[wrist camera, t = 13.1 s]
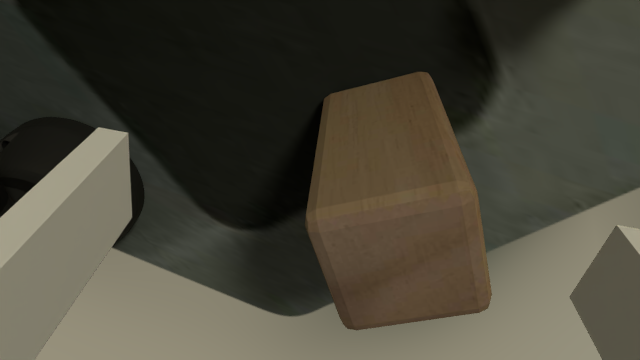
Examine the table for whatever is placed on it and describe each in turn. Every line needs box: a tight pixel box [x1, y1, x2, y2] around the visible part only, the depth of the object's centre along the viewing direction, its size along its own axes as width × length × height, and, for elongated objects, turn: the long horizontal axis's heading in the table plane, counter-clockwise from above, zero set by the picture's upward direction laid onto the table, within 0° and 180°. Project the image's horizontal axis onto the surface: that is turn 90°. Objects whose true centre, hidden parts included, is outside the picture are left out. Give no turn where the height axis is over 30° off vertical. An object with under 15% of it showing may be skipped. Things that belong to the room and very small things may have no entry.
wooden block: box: [305, 72, 492, 330], centre depth 36 cm, size 10×10×20 cm
